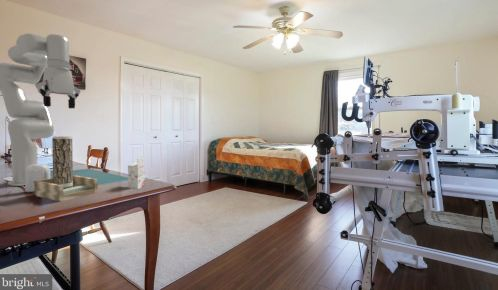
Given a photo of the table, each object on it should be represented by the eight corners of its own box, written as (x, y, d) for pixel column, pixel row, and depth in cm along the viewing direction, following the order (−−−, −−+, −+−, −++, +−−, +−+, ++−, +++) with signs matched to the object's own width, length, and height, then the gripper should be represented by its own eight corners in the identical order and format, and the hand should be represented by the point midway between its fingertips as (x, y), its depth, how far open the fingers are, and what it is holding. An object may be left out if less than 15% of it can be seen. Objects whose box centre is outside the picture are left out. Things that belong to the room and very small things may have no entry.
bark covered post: (62, 198, 107) (61, 137, 105) (49, 196, 108) (47, 136, 106) (76, 194, 113) (76, 137, 111) (63, 192, 115) (62, 136, 113)
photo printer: (52, 191, 116) (52, 164, 115) (43, 194, 111) (43, 165, 110) (33, 190, 117) (32, 162, 116) (23, 192, 113) (22, 164, 112)
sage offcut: (58, 194, 103) (58, 190, 103) (81, 188, 113) (81, 185, 113) (64, 195, 103) (64, 191, 102) (86, 189, 112) (86, 186, 112)
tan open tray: (34, 198, 106) (34, 181, 105) (73, 189, 120) (72, 174, 119) (60, 204, 99) (59, 186, 99) (97, 194, 114) (97, 179, 113)
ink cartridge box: (135, 185, 133) (135, 156, 132) (144, 185, 133) (145, 157, 132) (127, 189, 125) (127, 158, 124) (137, 189, 125) (138, 159, 124)
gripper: (73, 71, 118) (74, 109, 120) (29, 62, 103) (31, 105, 104) (84, 70, 116) (85, 108, 117) (41, 60, 100) (42, 105, 101)
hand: (60, 107), depth 110 cm, fingers open, 9 cm apart
